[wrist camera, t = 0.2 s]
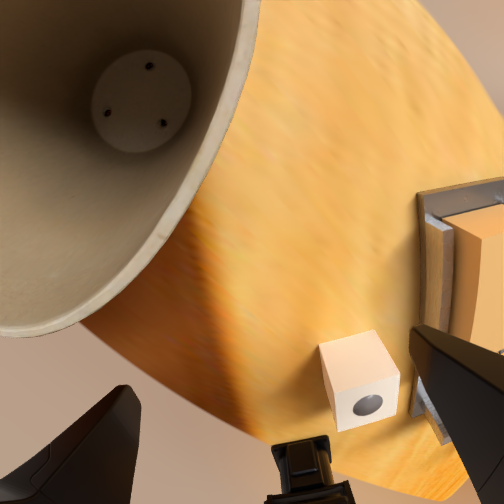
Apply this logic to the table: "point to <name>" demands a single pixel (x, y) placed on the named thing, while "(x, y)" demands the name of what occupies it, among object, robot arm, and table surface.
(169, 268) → the table surface
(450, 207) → the press frame
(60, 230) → the plant pot
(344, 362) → the block
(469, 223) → the block
